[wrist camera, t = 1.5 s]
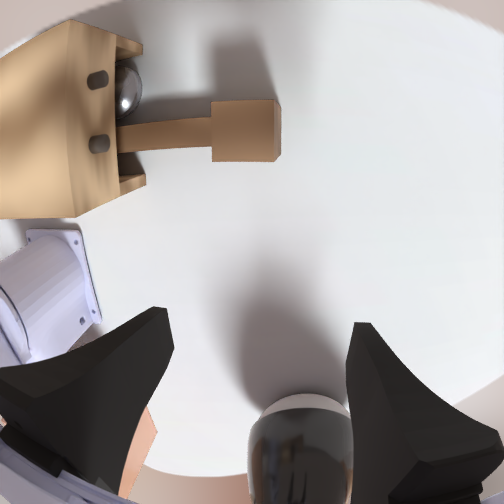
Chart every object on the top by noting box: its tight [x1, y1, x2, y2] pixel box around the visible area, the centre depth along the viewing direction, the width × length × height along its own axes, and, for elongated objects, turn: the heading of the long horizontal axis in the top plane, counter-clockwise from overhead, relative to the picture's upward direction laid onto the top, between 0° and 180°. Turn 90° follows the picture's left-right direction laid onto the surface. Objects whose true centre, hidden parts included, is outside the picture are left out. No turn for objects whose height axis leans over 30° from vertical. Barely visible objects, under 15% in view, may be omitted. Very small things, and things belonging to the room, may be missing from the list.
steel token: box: [115, 66, 142, 119], centre depth 18 cm, size 4×4×1 cm
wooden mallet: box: [115, 100, 281, 162], centre depth 16 cm, size 7×16×5 cm, turn 90°
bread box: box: [0, 19, 146, 219], centre depth 15 cm, size 10×10×8 cm
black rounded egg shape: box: [247, 394, 353, 504], centre depth 20 cm, size 10×10×15 cm
